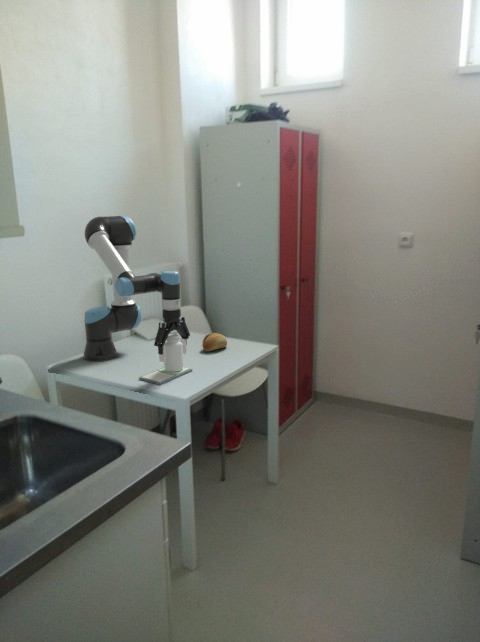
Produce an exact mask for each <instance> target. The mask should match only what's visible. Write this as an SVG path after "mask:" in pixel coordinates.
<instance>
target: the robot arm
mask: <svg viewBox="0 0 480 642" xmlns="http://www.w3.org/2000/svg"><path fill="white" fill-rule="evenodd" d="M136 236H137V228H136V225H135V223H134V221H133V219H132V218H131V217H129V216H127V215H124V216H123V215H113V216H110V215H109V216H108V215H107V216H97V217H94V218H92V219H89V221H88V222H87V224H86V226H85V229H84V240H85V242H86V244H88V247H89V248H91V249H92V250H94V251H95V252H96V254H97V255H98V257H99V258H100V260H101V261H102V262H103V264H104V265H105V267H106V268H107V269H108V271H109V272H110V274H111V277H112V278H111V279H112V290H113V291H112V292H113V301H112V302H111V303H110V306H108V305H100V306H94V307H91V308H89V309H87V310H86V311H85V312H84V320H83V322H84V329H85V331H84V332H85V339H86V341H85V342H86V343H85V347H84V351H83V359H84V360H86V361H88V362H104V361H108V360H112V359H114V358H116V357H117V356H118V354H117V353H118V351H117V349H116V347H115V344H114V342H113V341H114V340H113V336H112V335H113V333H119V332H124V331H130V330H134V329H137V328H138V327H139V326H140V325H141V322H142V319H143V317H142V311H141V307H140V306H139V305H138V304H137V303H136V300H134V299H133V296H135V295H141V294H142V295H143V294H150V293H160V294H161V307H162V318H163V319H164V321H163V322H158V328H157V333H156V335H155V340H154V344H153V346H154V347H157V351H158V352H157V353H158V356H159V357H158V359H159V362H162V363H164V362H166V360H165V347H164V344H165V342H166V340H167V337H168V335H170V334H172V333H171V332H173V331H176V332H177V334H178V335H179V337H180V338H179V341H180V342H181V343H182V349H183V355H185V354H187V353H188V352H187V345H188V344H187V342H188V339H189V338H190V336H191V333H190V331H189V329H188V326H187V324H186V320H185V317H184V316H181V315H182V313H181V310H182V309H181V280H180V273H179V272H178V271H176V270H165V271H162V272H161V273H157V272H149V273H147V274H145V275H135V273H133V271H132V270H131V262H130V260H131V259H130V248H131V247H132V246H133V241H135V239H136Z"/></svg>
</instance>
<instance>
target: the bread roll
mask: <svg viewBox="0 0 480 642" xmlns="http://www.w3.org/2000/svg"><path fill="white" fill-rule="evenodd" d="M201 346H202V349H203V351H204V352H212V351H216V350H219V349H223V348H224V349H225V348H226V347H227V346H228V340H227V338H226V337H225V335H223V334H221V333H218V332H211V333H209V334H205V336H204V337H203V340H202V345H201Z"/></svg>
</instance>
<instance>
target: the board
mask: <svg viewBox="0 0 480 642" xmlns="http://www.w3.org/2000/svg"><path fill="white" fill-rule="evenodd" d="M192 372H193V368H190V367H184V366H183V369H182V370H181V371H177V372H169V371H166V370H165V366H164V367H162V368H160V369H157V370H153V371H152V372H149V373H146V374H144V375H142V376H139V377H138V380H140V381H144V382H147V383H152V384H156V385H160V386H162V385H164V384H166V383H168V382H170V381H173V380H175V379H178V378H180V377H182V376H184V375H186V374H188V373H189V374H190V373H192Z"/></svg>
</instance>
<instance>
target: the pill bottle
mask: <svg viewBox="0 0 480 642" xmlns="http://www.w3.org/2000/svg"><path fill="white" fill-rule="evenodd" d="M164 347H165V360H166V362H163V364H164V367H165V370H166V371H169V372H177V371H181V370H182V369H183V367H184V354H183V349H182V343H181V342H180V335H179V334H178V333H177V334H176V333H169V335H168V337H167V339H166V342H165V344H164Z"/></svg>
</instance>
